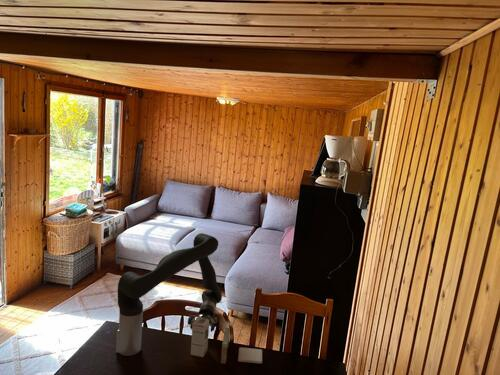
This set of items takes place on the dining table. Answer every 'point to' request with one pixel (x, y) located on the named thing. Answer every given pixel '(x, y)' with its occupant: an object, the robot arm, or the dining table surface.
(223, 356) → the birch posts
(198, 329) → the syrup box
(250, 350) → the grey mat
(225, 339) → the wooden bar
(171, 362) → the dining table surface
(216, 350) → the dining table surface
